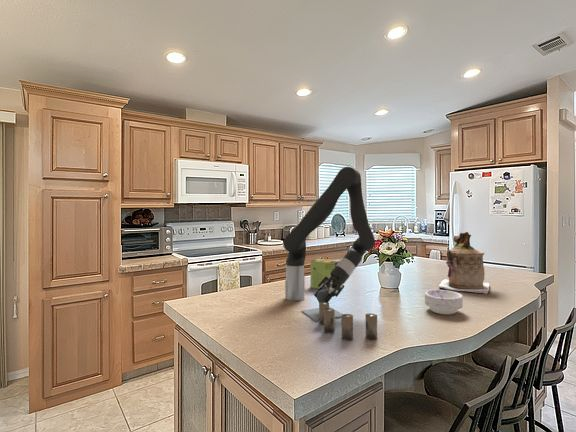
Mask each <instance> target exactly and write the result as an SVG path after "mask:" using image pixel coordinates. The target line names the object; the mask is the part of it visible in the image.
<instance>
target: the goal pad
mask: <svg viewBox="0 0 576 432" xmlns="http://www.w3.org/2000/svg"><path fill="white" fill-rule="evenodd" d="M329 308H331V309H334V310H335V320H337V319H342V315H343V314H344V313H342V312H340V311H338V310H336V309H335V308H333V307H331V306H329ZM301 313H303V315H305V316H307V317H308V318H310V319H312V320H313V321H315V322H319V307H317V308H310V309H302V310H301Z"/></svg>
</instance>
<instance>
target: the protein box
mask: <svg viewBox="0 0 576 432" xmlns="http://www.w3.org/2000/svg"><path fill="white" fill-rule="evenodd" d="M340 260H341V259H327V258H324V259H323V258H317V259H313V260H310V268H309V269H310V282H309V283H310V284H309V285H310V288H311V289H312V288H313V289H319V287H318V285H319V283H320V282H321V281H322V280H323V279H324V278H325V277H326V276H327V277H328V278H330V277H331V274H330V273H331V271H332V270H333V269H334V268H335V266H336V265H337V264H338V263H339V261H340ZM322 285H323V283H322ZM323 289H324V288H323ZM327 291H330V289H328V290H327Z"/></svg>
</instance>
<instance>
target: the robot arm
mask: <svg viewBox="0 0 576 432" xmlns="http://www.w3.org/2000/svg"><path fill="white" fill-rule="evenodd" d="M346 190H347V193H348V196H349V197H348V198H349V205H350V206H349V207H350V208H349V210H350V218H351V223H352V226H353V227H352V228H353V230H354V231H355V232H356V233H357V235H358V237H357V238H356V240H355V241H354V242H353V244H352V245H351V247H350V248H349V250H348V251H347V252H346V253H345V255H344V256H343V257H342V259H339V260H340V261H339V263H338V264H337V265H336V266H335V268H334V269H333V270H332V271H331V273H330V274H331V277H330V278H328V277H327V276H326V277H325V278H324V279H323V280H322V281H321V282H320V283H319V285H318V287H319V289H318V288H317V289H318V290H316V291H315V293H314V297H315V298H316V299H317V293H318V292H319V291H320V290H323V288H324V290H327V291H328V292H329V293H328V294H327V295H326V297H325V298H324V299H323V301H324V302H328V303H329V302H330V301H331V300H332V298H335V297H338V296H339V295H340V294H341V292H342V291H343V289H344V287H345V285H344V284H345V283H346V282H347V280H348V279H350V277H351V275H352V274H353V273H354V271H355V270H356V268H357V267H358V266H359V264H360V263H361V262H362V259H363V256H364V255H365V253H366V252H368V251H371V250H373V249H374V247H375V245H376V238H375V236H374V233H373V231H372V229H371V227H370V225H369V224H370V223H369V220H368V216H367V212H366V207H365V204H364V197H363V190H362V176H361V173H360V172H359V170H358V169H356V168H354V167H352V166H347V165H346V166H344V167H342V168H341V169H340V170H339V171H338V172H337V174H336V175H335V177H334V179H333V180H332V181H331V183H330V184H329V186H328V187H327V188H326V189H325V190H324V192H323V193H322V194H321V195H320V196H319V197H318V199H316V201H315V202H314V203H313V205H312V206H311V207H310V208H309V210H308V211H307V212H306V214H305V215H304V216H303V217H302V219H301V220H300V222H299V223H298V224H297V225H296V226H295V227H294V228H293V229H292V230H290V232H289V233H288V234H287V235H286V236H285V237H284V240H283V247H284V250H286V251H287V252H288V256H287V258H286V261H285V268H286V269H285V270H286V271H285V273H286V275H285V277H286V278H285V280H284V287H285V288H284V293H285V295H284V296H285V300H288V301H290V302H300V301H304V300H305V296H306V295H305V289H306V288H305V260H306V256H307V254H306V253H307V251H306V250H307V248H306V247H307V243H306V241H307V240H306V239H307V238H308V236H309V235H311V233H313V232H314V230H317V228H319V226H321V225H322V224H323V223H324V222H325V221H326V220H327V219H328V218H329V216H330V215H331V214H332V213H333V211H334V210H335V206H336V205H337V203H338V202H339V201H338V200H339V198H340V197H341V196H342V194H343V193H344V192H345V191H346ZM322 283H323V285H322ZM328 289H330V290H328Z"/></svg>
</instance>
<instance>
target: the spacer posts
mask: <svg viewBox="0 0 576 432" xmlns="http://www.w3.org/2000/svg"><path fill="white" fill-rule="evenodd" d="M329 307H330V303H329V302H320V303H319V302H318V308H319V321H318V323H319V325H322V326H323V333H326V334H333V333H335V331H336V329H335V328H336V327H335V326H336V324H335V321H336V319H335V310H336V309H335V308H333V309H331V308H332V307H331V308H329ZM334 309H335V310H334ZM342 314H343V315H342V318H341V339H342V340H343V341H353V339H354V315H352V314H351V313H342ZM365 339H366V340H369V341H375V340H378V314H376V313H371V312H370V313H365Z"/></svg>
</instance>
